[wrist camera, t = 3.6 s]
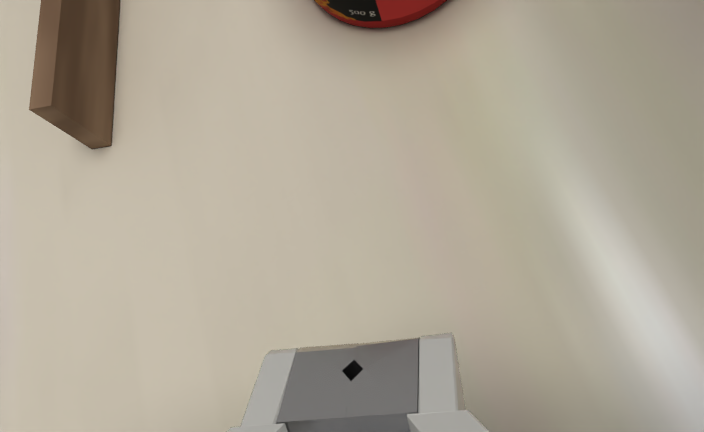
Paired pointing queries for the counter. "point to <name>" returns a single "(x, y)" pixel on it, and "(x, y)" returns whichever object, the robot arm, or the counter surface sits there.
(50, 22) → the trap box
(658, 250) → the counter surface
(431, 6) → the canned food
